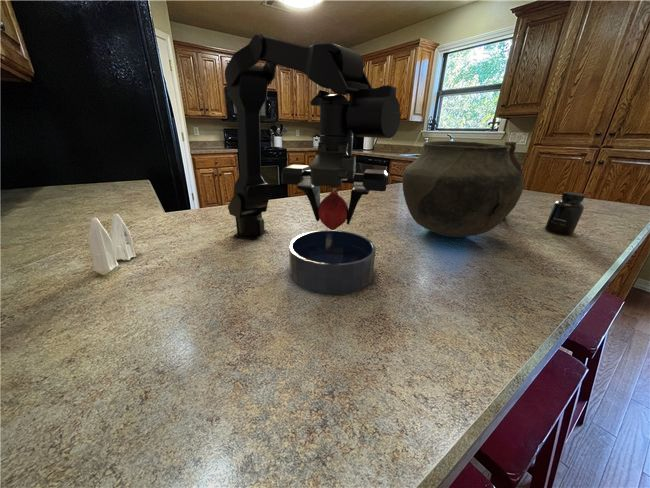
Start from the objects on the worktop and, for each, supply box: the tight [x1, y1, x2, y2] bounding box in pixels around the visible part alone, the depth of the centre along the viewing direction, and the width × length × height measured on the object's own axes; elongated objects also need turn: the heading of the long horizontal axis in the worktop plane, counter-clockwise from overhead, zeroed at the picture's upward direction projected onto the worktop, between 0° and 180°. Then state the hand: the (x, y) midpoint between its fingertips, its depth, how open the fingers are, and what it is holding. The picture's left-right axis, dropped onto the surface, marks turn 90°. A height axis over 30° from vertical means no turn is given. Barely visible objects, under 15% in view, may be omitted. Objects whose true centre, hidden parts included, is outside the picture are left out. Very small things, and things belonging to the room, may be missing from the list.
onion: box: [318, 188, 349, 230], centre depth 51 cm, size 6×6×8 cm
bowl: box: [288, 229, 377, 295], centre depth 55 cm, size 17×17×6 cm
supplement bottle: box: [544, 191, 586, 237], centre depth 80 cm, size 7×7×12 cm
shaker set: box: [87, 213, 136, 276], centre depth 54 cm, size 12×4×11 cm, turn 9°
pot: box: [401, 140, 525, 238], centre depth 74 cm, size 29×32×25 cm
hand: (332, 222), depth 52 cm, fingers closed on onion, 6 cm apart
